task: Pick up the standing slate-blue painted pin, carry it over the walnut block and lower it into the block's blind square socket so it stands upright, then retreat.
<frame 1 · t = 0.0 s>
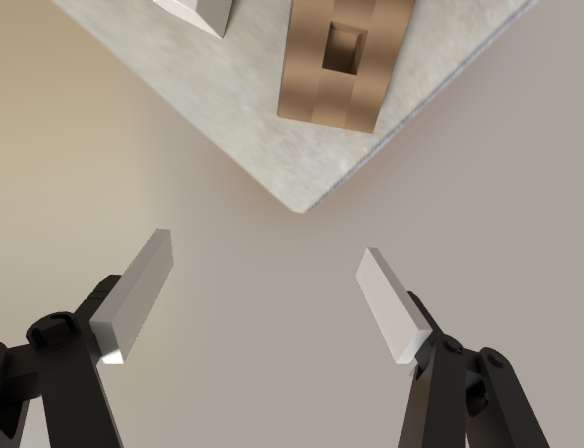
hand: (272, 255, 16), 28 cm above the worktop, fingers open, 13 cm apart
bore block: (334, 53, 34), on the worktop
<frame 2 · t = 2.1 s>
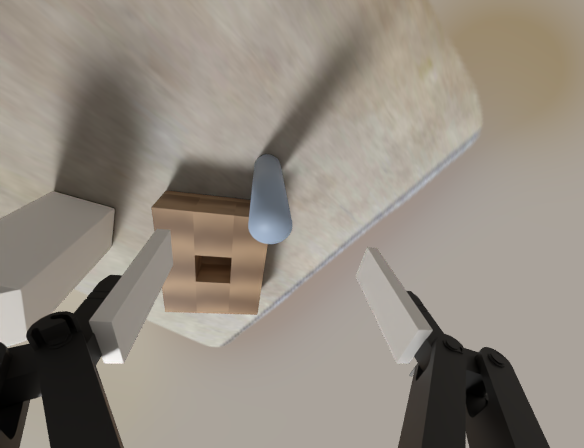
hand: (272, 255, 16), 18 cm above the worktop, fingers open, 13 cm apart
pin: (267, 167, 32), on the worktop
milk carton: (85, 220, 33), on the worktop
bore block: (218, 248, 38), on the worktop
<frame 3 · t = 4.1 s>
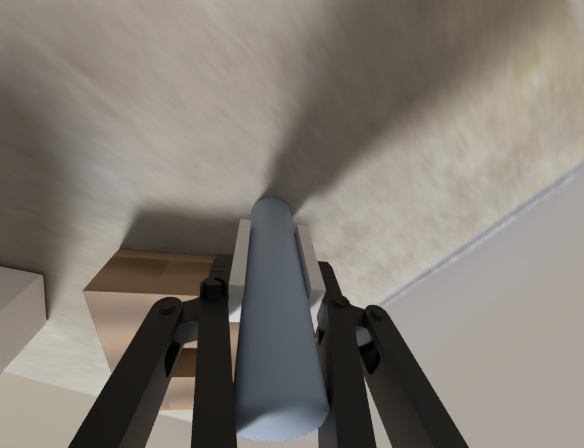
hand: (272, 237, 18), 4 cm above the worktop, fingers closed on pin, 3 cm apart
pin: (270, 215, 21), on the worktop, touching gripper
milk carton: (3, 289, 23), on the worktop
bore block: (202, 318, 27), on the worktop
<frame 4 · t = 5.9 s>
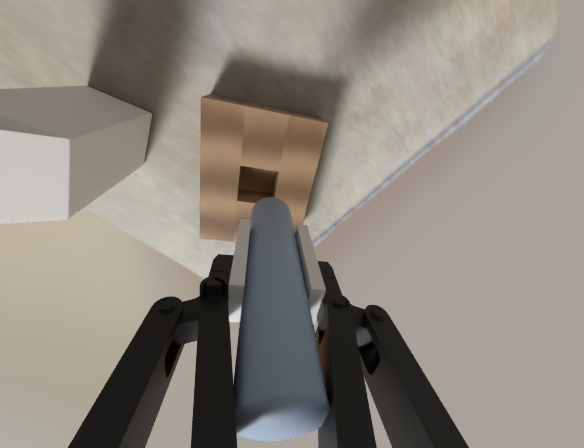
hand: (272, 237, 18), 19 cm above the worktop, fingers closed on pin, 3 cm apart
pin: (271, 215, 21), point 15 cm above the worktop, touching gripper
milk carton: (118, 128, 30), on the worktop
bore block: (258, 173, 35), on the worktop
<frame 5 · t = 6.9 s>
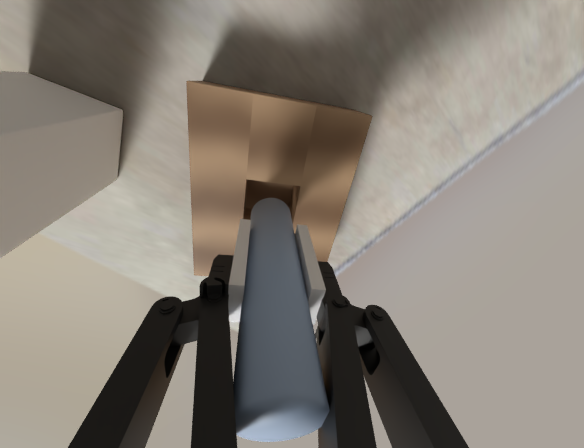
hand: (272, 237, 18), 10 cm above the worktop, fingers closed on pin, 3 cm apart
pin: (270, 215, 21), point 6 cm above the worktop, touching gripper
milk carton: (79, 131, 22), on the worktop
bore block: (269, 186, 27), on the worktop
when the fingers open (7 cm above the worktop, at t = 7.8 s): pin drops 1 cm, resting on bore block.
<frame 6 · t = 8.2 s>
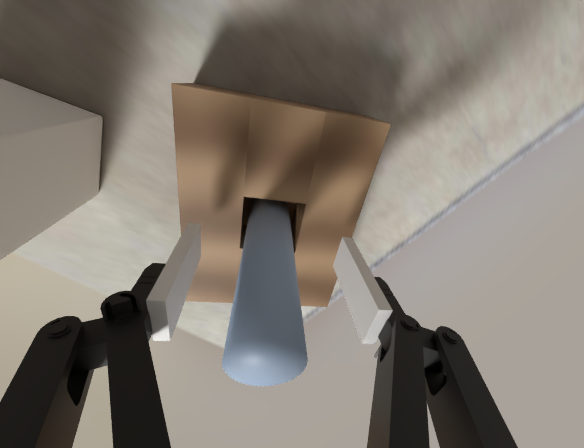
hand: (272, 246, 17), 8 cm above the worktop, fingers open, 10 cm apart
pin: (269, 205, 23), point 1 cm above the worktop, touching bore block
milk carton: (53, 140, 19), on the worktop
bore block: (270, 200, 24), on the worktop
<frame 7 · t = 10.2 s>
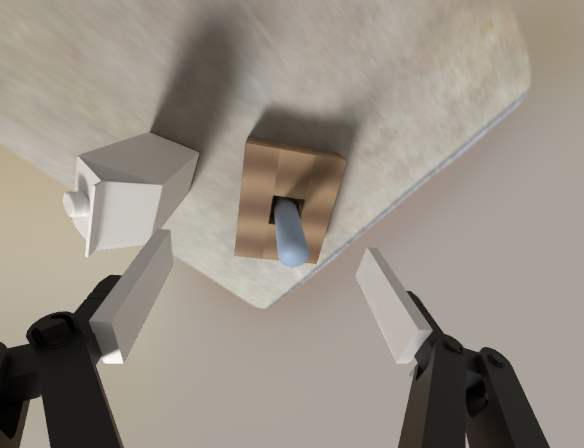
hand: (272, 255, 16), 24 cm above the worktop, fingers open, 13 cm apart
pin: (283, 201, 40), point 1 cm above the worktop, touching bore block
milk carton: (170, 164, 36), on the worktop
bore block: (283, 199, 41), on the worktop
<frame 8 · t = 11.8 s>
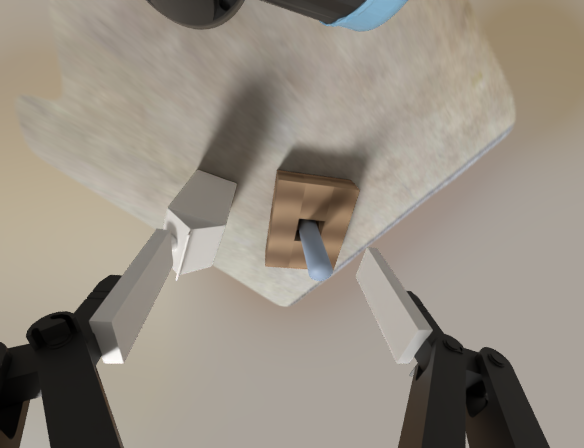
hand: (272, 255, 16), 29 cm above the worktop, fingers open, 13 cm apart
pin: (305, 220, 47), point 1 cm above the worktop, touching bore block
milk carton: (212, 193, 44), on the worktop
bore block: (305, 217, 48), on the worktop
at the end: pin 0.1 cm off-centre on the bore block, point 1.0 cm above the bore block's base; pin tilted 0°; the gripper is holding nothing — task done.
